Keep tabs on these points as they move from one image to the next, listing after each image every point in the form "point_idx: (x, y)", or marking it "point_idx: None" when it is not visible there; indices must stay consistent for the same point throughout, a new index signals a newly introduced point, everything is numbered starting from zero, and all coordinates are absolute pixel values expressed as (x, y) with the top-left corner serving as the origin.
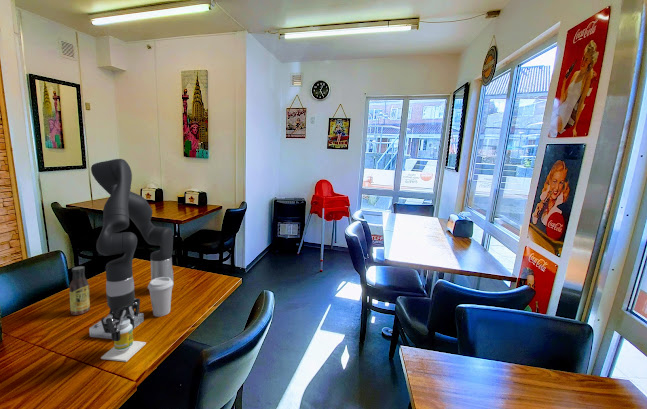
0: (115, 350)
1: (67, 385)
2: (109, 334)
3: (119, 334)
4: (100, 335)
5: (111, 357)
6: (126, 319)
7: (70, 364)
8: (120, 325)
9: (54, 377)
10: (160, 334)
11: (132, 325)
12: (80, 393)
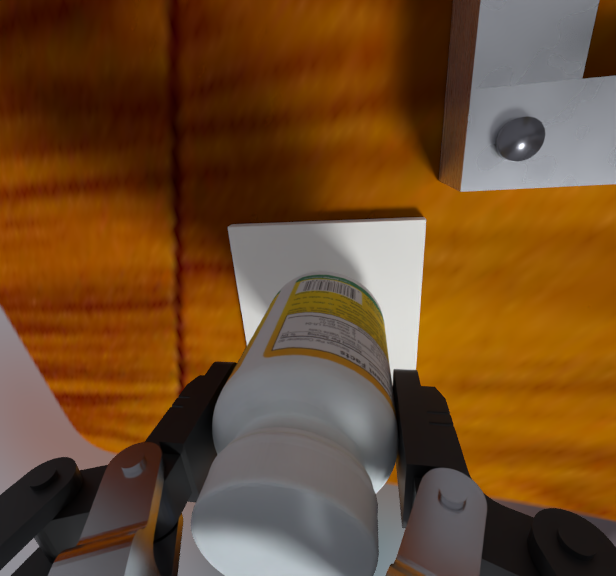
0: (305, 265)
1: (43, 226)
2: (461, 55)
3: (216, 455)
4: None
5: (246, 292)
6: (339, 564)
7: (127, 57)
8: (208, 545)
9: (27, 82)
10: (519, 409)
11: (397, 463)
12: (53, 324)
